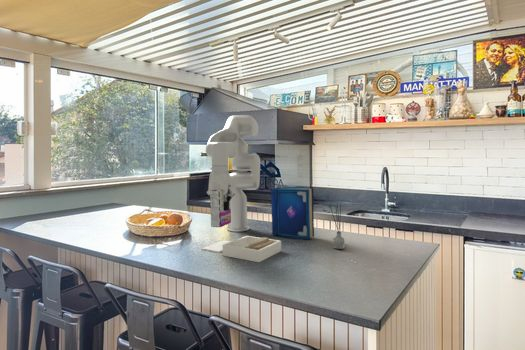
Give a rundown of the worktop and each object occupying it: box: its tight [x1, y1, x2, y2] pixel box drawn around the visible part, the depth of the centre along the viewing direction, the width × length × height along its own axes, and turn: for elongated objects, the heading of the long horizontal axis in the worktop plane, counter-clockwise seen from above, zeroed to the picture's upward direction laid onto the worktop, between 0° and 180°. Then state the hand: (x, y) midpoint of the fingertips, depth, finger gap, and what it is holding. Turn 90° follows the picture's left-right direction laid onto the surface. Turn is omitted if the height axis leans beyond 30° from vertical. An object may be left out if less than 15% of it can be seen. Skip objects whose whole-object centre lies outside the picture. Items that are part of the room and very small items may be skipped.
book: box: [270, 186, 315, 240], centre depth 180 cm, size 22×7×25 cm, turn 62°
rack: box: [222, 235, 282, 263], centre depth 152 cm, size 18×18×4 cm
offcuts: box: [248, 236, 274, 250], centre depth 150 cm, size 5×12×6 cm, turn 148°
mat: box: [201, 240, 231, 254], centre depth 162 cm, size 10×16×1 cm, turn 148°
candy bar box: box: [209, 189, 231, 228], centre depth 161 cm, size 11×5×16 cm, turn 160°
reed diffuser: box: [329, 203, 346, 250], centre depth 158 cm, size 10×7×20 cm
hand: (220, 209), depth 161 cm, fingers closed on candy bar box, 5 cm apart
